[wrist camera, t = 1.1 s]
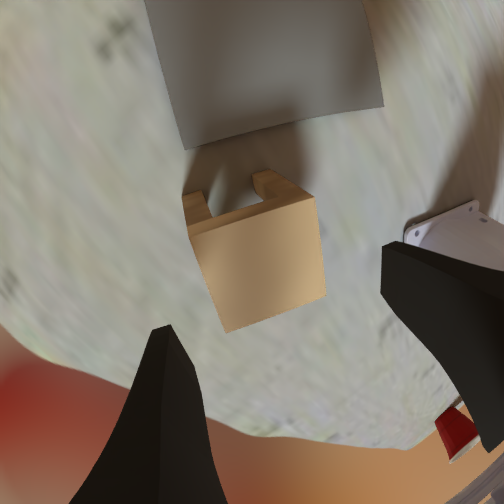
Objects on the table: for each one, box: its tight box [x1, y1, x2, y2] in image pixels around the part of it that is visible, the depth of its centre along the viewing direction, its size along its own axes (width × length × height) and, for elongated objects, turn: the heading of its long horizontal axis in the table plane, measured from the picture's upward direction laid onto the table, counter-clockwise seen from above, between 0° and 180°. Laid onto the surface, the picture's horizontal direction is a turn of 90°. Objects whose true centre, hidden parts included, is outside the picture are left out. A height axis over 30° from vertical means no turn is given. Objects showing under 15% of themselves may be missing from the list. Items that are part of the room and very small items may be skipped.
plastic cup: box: [435, 407, 481, 463], centre depth 44 cm, size 11×11×12 cm
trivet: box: [145, 0, 384, 150], centre depth 11 cm, size 11×11×1 cm
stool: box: [182, 169, 326, 333], centre depth 13 cm, size 5×5×5 cm
